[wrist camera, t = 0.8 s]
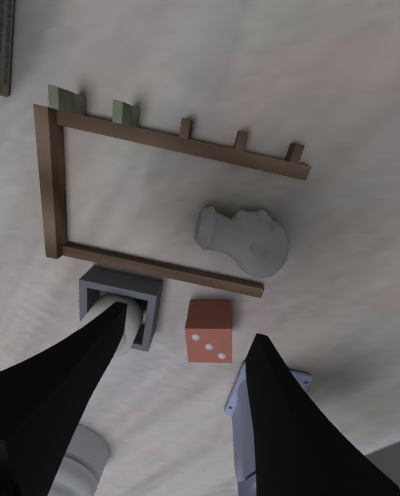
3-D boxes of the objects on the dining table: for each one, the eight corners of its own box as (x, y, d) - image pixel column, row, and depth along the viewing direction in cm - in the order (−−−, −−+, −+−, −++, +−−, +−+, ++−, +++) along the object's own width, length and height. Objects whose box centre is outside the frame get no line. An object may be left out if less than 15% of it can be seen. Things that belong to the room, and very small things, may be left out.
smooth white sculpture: (287, 229, 21) (259, 277, 22) (211, 185, 20) (183, 237, 20) (315, 233, 17) (280, 293, 17) (220, 178, 16) (185, 244, 16)
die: (229, 330, 25) (232, 363, 21) (192, 330, 25) (188, 362, 21) (229, 300, 23) (231, 329, 19) (190, 300, 23) (184, 329, 20)
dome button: (140, 336, 24) (129, 364, 21) (94, 326, 23) (76, 353, 20) (145, 298, 22) (133, 323, 19) (95, 287, 21) (75, 310, 18)
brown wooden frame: (259, 292, 23) (265, 314, 20) (57, 249, 22) (32, 265, 19) (313, 149, 17) (333, 149, 14) (47, 88, 17) (11, 76, 14)
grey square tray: (154, 333, 26) (148, 351, 23) (92, 320, 26) (80, 337, 23) (162, 281, 23) (156, 296, 20) (93, 266, 23) (79, 279, 20)
